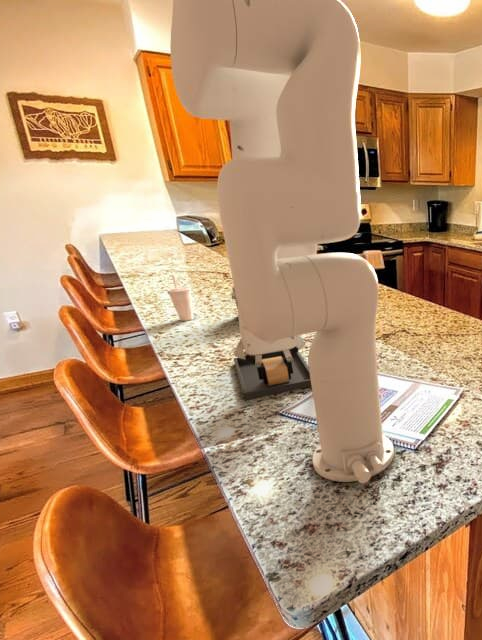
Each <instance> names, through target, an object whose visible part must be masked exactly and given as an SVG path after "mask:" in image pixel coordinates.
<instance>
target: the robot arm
mask: <svg viewBox="0 0 482 640" xmlns="http://www.w3.org/2000/svg"><path fill="white" fill-rule="evenodd" d="M171 15H172V16H171V25H170V47H169V48H170V66H171V75H172V81H173V85H174V89H175V92H176V95H177V97H178V100H179V102H180V104H181V106H182V107H183V108H184V110H185V111H186V112H187V113H188V114H189V115H191V116H192V117H195V118H198V119H204V120H207V119H208V120H219V121H229V130H230V131H229V132H230V145H231V146H230V147H231V159H230V160H228V161H227V162H225V163H224V164H223V166H221V169H220V171H219V174H218V177H217V183H216V196H217V207H218V212H219V213H218V214H219V220H220V225H221V229H222V233H223V238H224V243H225V248H226V252H227V253H226V254H227V258H228V264H229V267H230V273H231V278H232V283H233V288H235V292H233V291H232V292H230V295H231V296H230V297H231V300H235V299H237V302H238V310H237V317H238V328H239V333H240V339H239V341H238V344H237V345H236V347H235V349H234V351H233V355H234V357H235V358H241V359H245V360H247V361H248V362H250V363H252V364H253V365H255V366H256V367H257V371H258V376H259V379H260V380H262V379H263V381H264V384H267V383H268V381H267V376H266V371H265V366H264V364H263V362H262V354H266V353H272V352H278V351H283V353H284V358H283V361H284V363H285V365H286V366H287V371H288V376H289V379H291V374H292V373H293V369H292V363H291V361H292V360H293V357H294V356H295V355H296V353H297V352H299V351H300V350H301V349H302V348H304V347H305V346H306V345H307V342H306V341H305V340H304V338H302V336H303V335H306V334H310V333H315V334H314V336H313V339H312V341H311V343H310V346H309V349H308V354H307V356H308V357H307V366H308V367H309V373H310V379H311V386H312V387H311V393H312V398H313V405H314V412H315V417H316V424H317V425H316V426H317V431H318V437H319V445H318V446H317V447H316V448H315V449H314V451H313V453H312V457H311V459H312V460H311V461H312V466H313V469H314V471H315V472H316V473H317V474H318V475H319V476H320V477H322V478H324V479H327V480H330V481H334V482H340V483H341V482H342V483H350V482H358V483H360V484H365V483H368V482H369V481H370V480H371V478H372V477H375V476H376V475H378V474H380V473H381V472H383V471H384V470H386V469H387V468H388V467H389V465H391V463H392V461H393V460H394V457H395V448H394V444H393V442H392V440H390V439H389V438H388V437H387V436H386V435H383V433H384V432H383V422H382V411H381V398H380V386H379V376H378V375H379V373H378V372H379V371H378V357H377V343H376V342H377V339H376V336H377V335H376V331H377V330H376V329H377V314H378V306H379V297H380V296H379V295H380V291H379V290H380V289H379V280H378V279H379V278H378V276H377V273H376V271H375V268H374V267H373V266H372V265H371V263H370V262H369V261H368V260H367V259H366V258H364V257H362V256H361V255H358V254H355V253H351V252H342V251H341V252H339V251H338V252H337V251H336V252H325V253H318V245H320V244H321V245H322V244H330V243H337V242H342V241H346V240H349V239H351V238H352V237H353V236H355V235H356V234H357V233H358V232H359V228H360V225H361V220H362V219H361V218H362V210H361V209H362V208H361V206H362V205H361V189H360V177H359V176H360V174H359V160H358V158H359V157H358V145H357V134H356V133H357V132H356V103H357V95H358V87H359V80H360V73H361V61H362V60H361V59H362V58H361V57H362V55H361V54H362V52H361V42H360V36H359V32H358V30H359V29H358V27H357V24H356V22H355V18H354V17H353V15H352V13H351V11H350V10H349V8H348V7H347V6H346V5H345V3H344V2H342V1H341V0H173V1H172V14H171ZM301 335H302V336H301ZM253 355H254V356H253Z"/></svg>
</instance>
